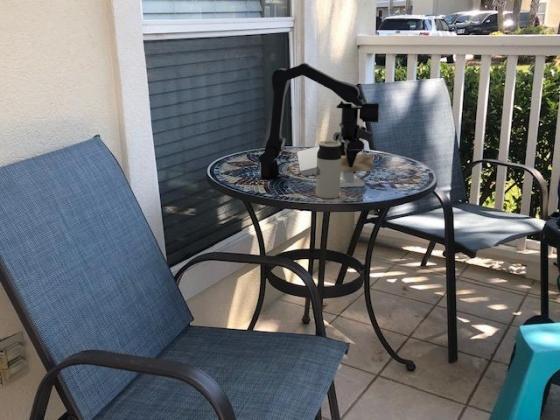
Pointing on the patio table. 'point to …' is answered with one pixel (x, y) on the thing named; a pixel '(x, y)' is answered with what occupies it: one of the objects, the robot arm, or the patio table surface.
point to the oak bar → (357, 163)
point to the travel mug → (328, 169)
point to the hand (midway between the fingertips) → (347, 164)
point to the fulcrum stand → (350, 180)
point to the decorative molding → (308, 161)
